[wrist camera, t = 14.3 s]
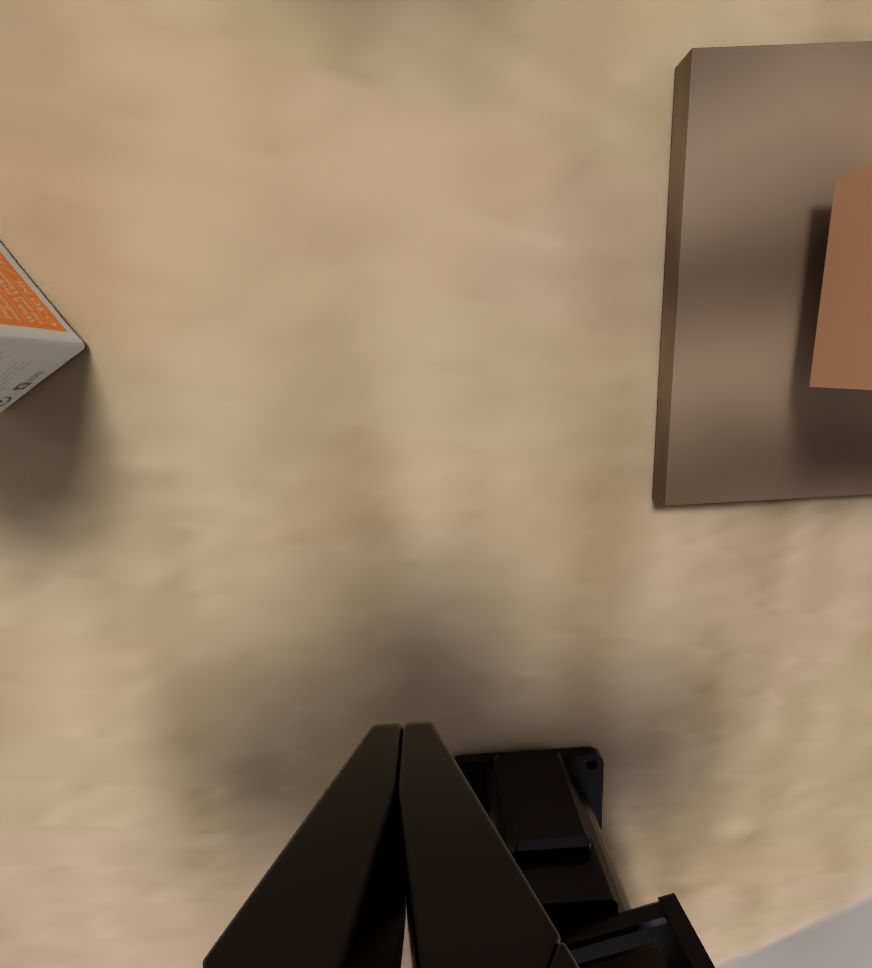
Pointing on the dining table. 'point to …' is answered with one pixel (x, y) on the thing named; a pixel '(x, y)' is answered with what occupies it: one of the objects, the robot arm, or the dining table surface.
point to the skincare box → (28, 334)
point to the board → (758, 275)
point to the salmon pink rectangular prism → (847, 289)
